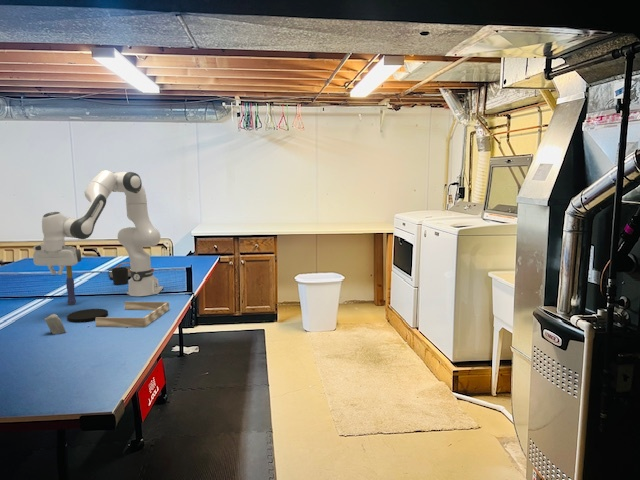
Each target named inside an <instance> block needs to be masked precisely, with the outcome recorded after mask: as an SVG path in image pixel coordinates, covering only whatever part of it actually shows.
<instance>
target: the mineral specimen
mask: <svg viewBox="0 0 640 480" xmlns="http://www.w3.org/2000/svg"><path fill="white" fill-rule="evenodd" d="M44 321H45V323H46V325H47V327H48V328H49V330H50V333H52V335H57V334H58V335H60V334H65V333H67V331H66V328H65V327H64V324H63V322H62V320H61V318H60V317H59V316H58V315H57V314H56V313H52V314H50V315H49V316H47V317H45V318H44Z"/></svg>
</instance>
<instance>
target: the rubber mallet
mask: <svg viewBox="0 0 640 480" xmlns="http://www.w3.org/2000/svg"><path fill="white" fill-rule="evenodd" d="M75 249H76V255H77V260H78V263H80V262H82V252H81V249H79V248H75ZM65 268H66V280H65V281H66V282H65V286H66V291H67V303H68V305H69V306H72V305H75V304H76V302H77V300H76V296H75V295H76V294H75V281H74V278H73V269H72V266H65Z"/></svg>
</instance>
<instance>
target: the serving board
mask: <svg viewBox="0 0 640 480" xmlns="http://www.w3.org/2000/svg"><path fill="white" fill-rule="evenodd" d="M124 265H125V266H124ZM126 265H128V266H126ZM121 266H124V267H125V268H127V269H128V278H129V277H130V271H131V270H130V269H131V266H130V262H122V263H118V265H116V266H114V267H109V268H108V275H109V278H111V280H112V281H113V275H112V272H109V271H112V269H113V268H119V267H121ZM130 278H131V277H130Z"/></svg>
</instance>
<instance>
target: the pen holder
mask: <svg viewBox="0 0 640 480" xmlns="http://www.w3.org/2000/svg"><path fill="white" fill-rule="evenodd" d="M112 268H113V269H112V275H113V280H112V282H113V285H115V286H125V285H127V284H128V285H129V277H128V269H127V268H125V266H119V268H115V267H112Z"/></svg>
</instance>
